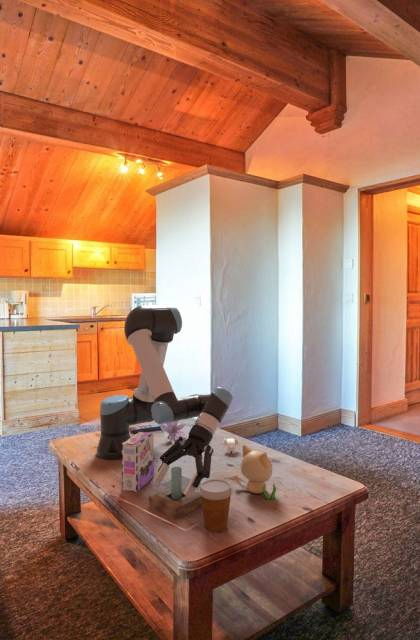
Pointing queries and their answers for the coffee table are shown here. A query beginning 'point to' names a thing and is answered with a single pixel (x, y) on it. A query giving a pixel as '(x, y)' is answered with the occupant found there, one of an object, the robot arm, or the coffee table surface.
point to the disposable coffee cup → (215, 504)
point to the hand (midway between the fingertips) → (170, 489)
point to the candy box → (137, 461)
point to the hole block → (174, 503)
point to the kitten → (255, 471)
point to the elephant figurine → (230, 444)
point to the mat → (184, 483)
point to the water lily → (174, 430)
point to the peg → (176, 483)
